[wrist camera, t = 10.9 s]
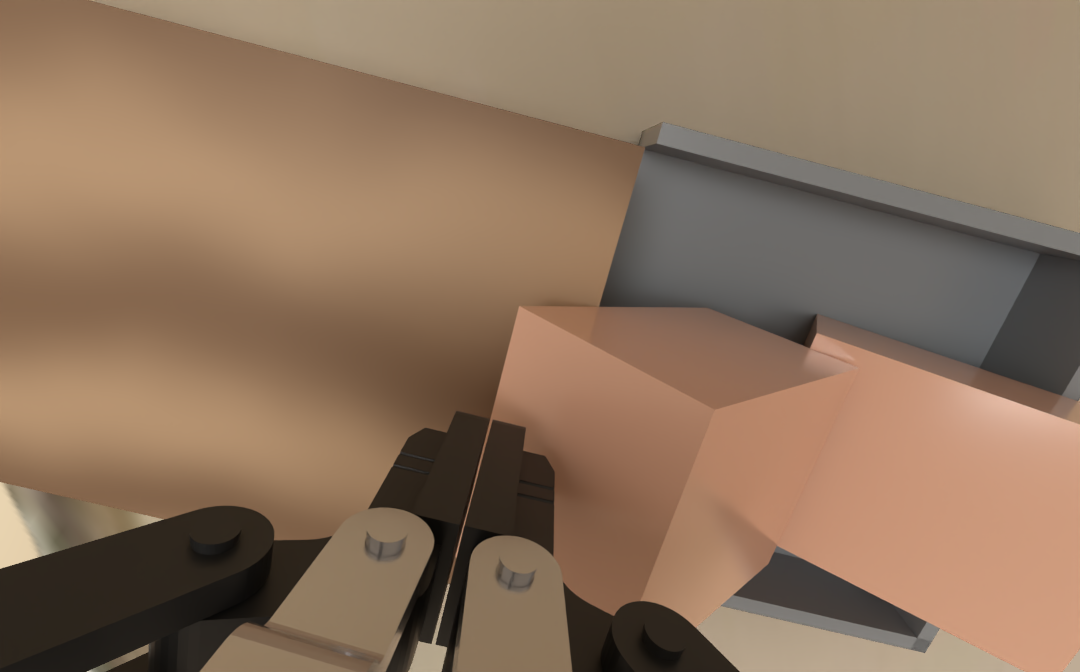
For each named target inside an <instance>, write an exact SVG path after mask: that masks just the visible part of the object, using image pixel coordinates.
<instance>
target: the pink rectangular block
mask: <svg viewBox="0 0 1080 672" xmlns="http://www.w3.org/2000/svg"><path fill="white" fill-rule="evenodd" d="M858 370H859V368H858V367H856V366H853V365H851V364H848V363H846V362H843V361H841V360H838V359H836V358H833V357H831V356H828V355H826V354H823V353H820V352H818V351H815V350H813V349H810V348H808V347H805V346H803V345H800V344H798V343H795V342H793V341H790V340H788V339H785V338H783V337H780V336H778V335H775V334H773V333H770V332H768V331H765V330H762V329H760V328H757V327H755V326H752V325H750V324H747V323H745V322H742V321H740V320H737V319H735V318H732V317H730V316H727V315H725V314H722V313H720V312H717V311H715V310H712V309H709V308H687V307H572V306H519V309H518V313H517V316H516V320H515V324H514V328H513V332H512V336H511V340H510V344H509V348H508V352H507V356H506V360H505V364H504V368H503V371H502V375H501V379H500V383H499V387H498V391H497V395H496V399H495V403H494V407H493V411H492V415H491V419H490V423H489V426H488V430H487V434H486V438H485V442H484V446H483V450H482V454H481V458H480V462H479V466H478V470H477V474H476V479H475V483H474V487H473V491H474V488H475V484H476V480H477V477H478V473H479V469H480V465H481V462H482V458H483V454H484V450H485V447H486V443H487V439H488V435H489V432H490V428H491V424H492V420H493V419H494V420H498V421H502V422H506V423H511V424H515V425H519V426H523V427H526V432H525V439H524V447H523V451H527V452H531V453H535V454H539V455H544V456H546V458H547V460H548V461H549V463H550V465H551V466H552V468H553V470H554V471H555V488H554V491H555V494H554V558H555V560H556V561H557V563H558V564H559V567H560V569H561V572H562V578H563V582H564V583H565V585H566V586H567V587H568V588H569V589H570V590H571V591H572V592H573V593H575V594H576V595H577V596H578V597H580V598H581V599H583V600H584V601H586V602H588V603H589V604H591V605H593V606H595V607H597V608H599V609H601V610H603V611H605V612H607V613H609V614H611V615H613V616H614V615H615V613H616V612H617V610H618V609H619V608H620V607H622V606H623V605H625V604H627V603H630V602H635V601H648V602H653V603H657V604H660V605H663V606H665V607H667V608H670V609H672V610H673V611H675V612H677V613H678V614H680V615H681V616H683V617H684V618H685V619H687V620H688V621H689V622H690V623H691V624H692V625H693V626H694V627H695V628H696V627H697V626H698V625H699V624H700V623H701V622H703V621H704V620H705V619H706V618H707V617H708V616H709V615H711V614H712V613H713V612H714V611H715V610H716V609H717V608H719V607H720V606H721V605H722V604H723V603H724V602H725V601H727V600H728V599H729V598H730V597H731V596H732V595H733V594H735V593H736V592H737V591H738V590H739V589H740V588H741V587H743V586H744V585H745V584H746V583H747V582H748V581H749V580H751V579H752V578H753V577H754V576H755V575H756V574H757V573H759V572H760V571H761V570H762V569H763V568H764V567H765V566H767V565H768V564H769V562H770V559H771V557H772V555H773V553H774V551H775V549H776V546H777V544H778V542H779V540H780V538H781V536H782V534H783V531H784V529H785V527H786V525H787V523H788V521H789V519H790V516H791V514H792V512H793V510H794V508H795V506H796V504H797V501H798V499H799V497H800V495H801V493H802V491H803V488H804V486H805V484H806V482H807V480H808V478H809V476H810V473H811V471H812V469H813V467H814V465H815V463H816V461H817V458H818V456H819V454H820V452H821V450H822V448H823V445H824V443H825V441H826V439H827V437H828V435H829V433H830V430H831V428H832V426H833V424H834V422H835V420H836V418H837V415H838V413H839V411H840V409H841V407H842V405H843V403H844V400H845V398H846V396H847V394H848V392H849V390H850V387H851V385H852V383H853V381H854V379H855V377H856V375H857V372H858ZM473 491H472V495H473ZM472 495H471V499H472ZM471 499H470V503H471ZM470 503H469V506H470ZM468 510H469V507H468ZM468 510H467V514H468ZM467 514H466V518H467ZM466 518H465V521H466ZM464 525H465V522H464ZM464 525H463V529H464ZM463 529H462V533H463ZM462 533H461V537H462ZM461 537H460V540H459V544H458V548H457V552H456V556H455V557H456V558H457V554H458V550H459V546H460V542H461Z"/></svg>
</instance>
